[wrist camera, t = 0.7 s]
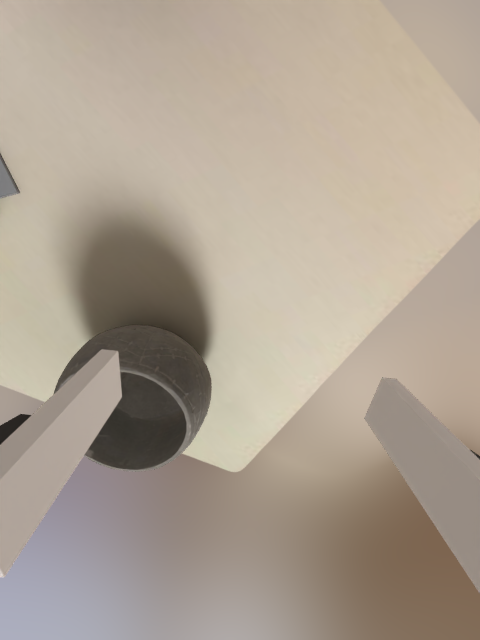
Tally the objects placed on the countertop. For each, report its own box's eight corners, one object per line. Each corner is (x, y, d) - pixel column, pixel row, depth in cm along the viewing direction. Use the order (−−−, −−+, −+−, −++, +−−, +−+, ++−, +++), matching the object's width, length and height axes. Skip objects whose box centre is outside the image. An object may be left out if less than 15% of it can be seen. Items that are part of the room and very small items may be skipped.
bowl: (237, 360, 44) (238, 422, 30) (169, 423, 49) (142, 500, 35) (145, 284, 38) (92, 316, 24) (78, 364, 44) (4, 428, 30)
